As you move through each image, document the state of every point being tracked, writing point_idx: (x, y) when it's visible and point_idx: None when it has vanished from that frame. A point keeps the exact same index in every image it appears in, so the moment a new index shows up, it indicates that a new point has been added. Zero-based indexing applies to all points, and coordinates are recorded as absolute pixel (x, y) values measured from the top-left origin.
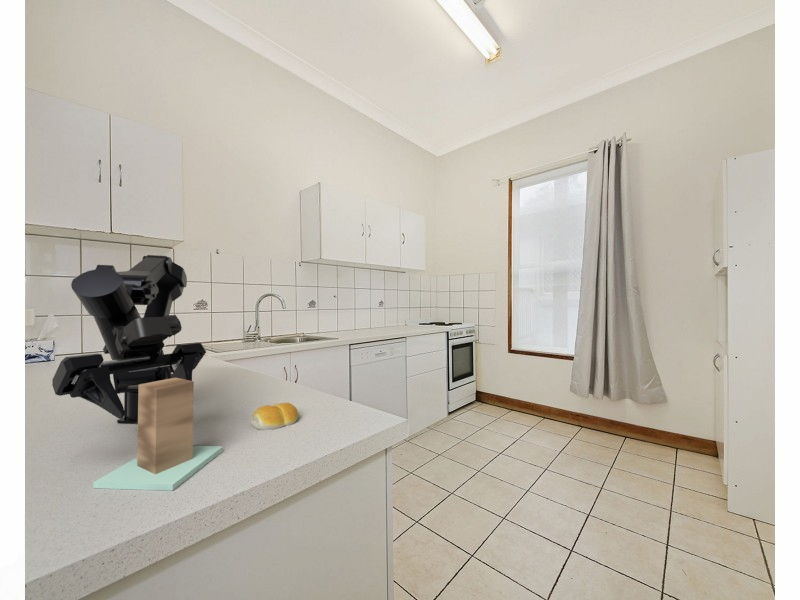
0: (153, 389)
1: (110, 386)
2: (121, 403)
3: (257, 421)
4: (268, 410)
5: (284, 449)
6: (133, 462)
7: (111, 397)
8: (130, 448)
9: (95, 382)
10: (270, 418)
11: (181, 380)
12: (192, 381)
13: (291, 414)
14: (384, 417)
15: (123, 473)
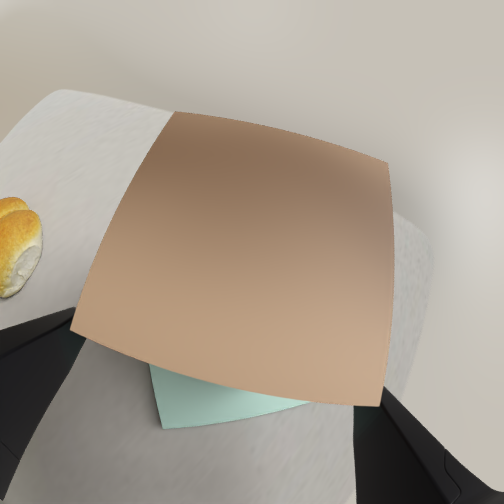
0: (388, 192)
1: (449, 487)
2: (390, 410)
3: (26, 257)
4: (9, 227)
5: (127, 156)
6: (258, 403)
7: (429, 441)
8: (184, 493)
9: (501, 492)
10: (29, 219)
11: (156, 188)
12: (180, 112)
13: (14, 198)
14: (39, 107)
15: None
